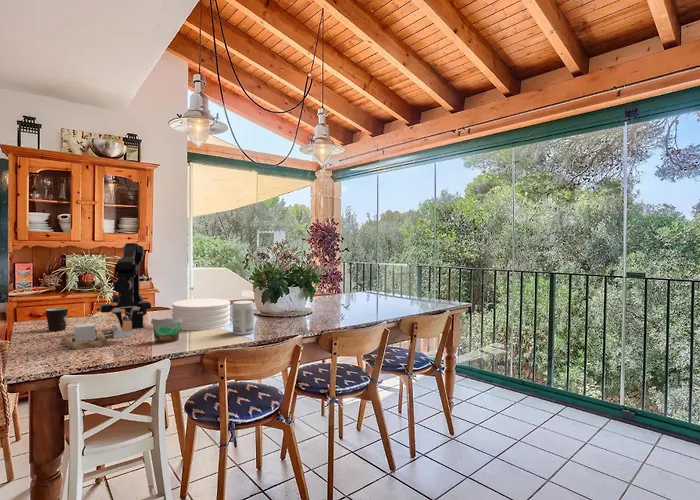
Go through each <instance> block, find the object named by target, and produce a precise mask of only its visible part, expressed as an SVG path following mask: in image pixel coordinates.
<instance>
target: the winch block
mask: <svg viewBox="0 0 700 500" xmlns="http://www.w3.org/2000/svg"><path fill="white" fill-rule="evenodd" d="M111 327H112V328H111V330H108V331H102V333H103V335H104V336H108V335H109V336H112V337H113V338H114V339H117V338H125V337H132V336H133V330H132V331H128V332H123V330H122V329H121V326H119V327H118V326H117V325H116V324H112V326H111Z"/></svg>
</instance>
